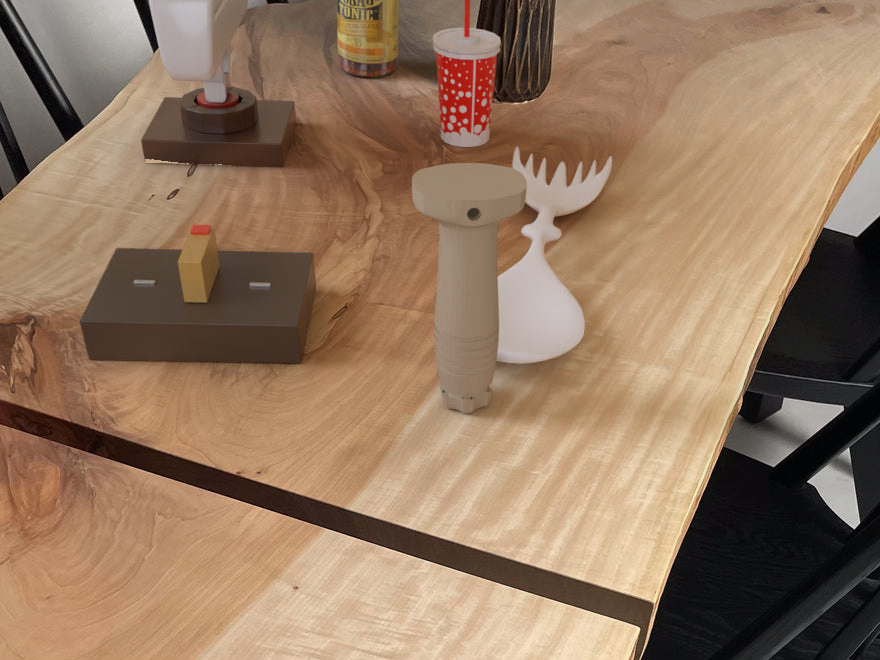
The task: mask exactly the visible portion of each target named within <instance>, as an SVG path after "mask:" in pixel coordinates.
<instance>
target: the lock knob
mask: <svg viewBox="0 0 880 660" xmlns="http://www.w3.org/2000/svg"><path fill="white" fill-rule="evenodd" d="M216 239H217V238H216V232H215V227H214V226H212V225H211V224H192V226H191V229H190V231H189V233H188V235H187V238H186V240H185V243H184V245H183V247H182V249H181V250H182V253H181V255H180V258H179V260H178V267H179V272H180V278H181V284H182V290H183V296H184V301H185V302H201V303H207V301H208V298H209V295H210V292H211V290H212V287H213V284H214V281H215V278H216V275H217V272H218V269H219V259H218V252H217V250H218V247H217V245H218V244H217V240H216Z"/></svg>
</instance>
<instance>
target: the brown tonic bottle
mask: <svg viewBox="0 0 880 660" xmlns="http://www.w3.org/2000/svg"><path fill="white" fill-rule="evenodd" d="M336 29H337V30H336V31H337V33H336V35H337V37H336V39H337V53H338V56H339V57H338V58H339V65H340V69H341V70H342V71H344V72H345V73H346V74H349V75H351V76H354V77H359V78H361V77H364V78H370V79H371V78H372V79H375V78H376V79H379V78H382V77H383V76H384V77H385V76H387V75H390V74H392V73H393V72H394V71H395V70H396V67H397V58H398V56H399V0H336Z"/></svg>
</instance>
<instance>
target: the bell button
mask: <svg viewBox="0 0 880 660" xmlns="http://www.w3.org/2000/svg"><path fill="white" fill-rule="evenodd" d="M197 102H198V106H201V107H205V108H217V109H222V108H228V107H233V106H235V105H237V104H239V96H238V94H237V93H235V92H233V91H229V93H228V95H227V98H226V100H225V101H224V102H222V103H220V102H209V101H207V99H206V98H205V92H202V93H200V94H199V95H198V96H197Z"/></svg>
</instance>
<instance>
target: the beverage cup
mask: <svg viewBox="0 0 880 660" xmlns="http://www.w3.org/2000/svg"><path fill="white" fill-rule="evenodd" d="M470 19H471V0H464V22H463V23H464V25H463V26H464V27H454V28H453V27H452V28H446V29H443V30H439V31H437V32H436V33H434V34H433V35H432V47H433V48H432V49H433V51H434V52H435V53H436V54H435V55H436V73H437V88H438V105H439V124H440V139H441V140H442V141H443V142H444V143H446V144H447V145H450V146H454V147H460V148H473V147H480V146H483V145H485V144H487V143H488V142H489V140H490V136H491V135H490V134H491V124H492V115H493V114H492V113H493V102H494V93H495V83H496V82H495V81H496V72H497V71H496V69H497V60H498V54H499V53H500V52H501V46H502V41H501V36H499V35H497V34H496V33H494V32H492V31H489V30H487V29H480V28H474V27H470V26H471V25H470V24H471V20H470Z"/></svg>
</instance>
